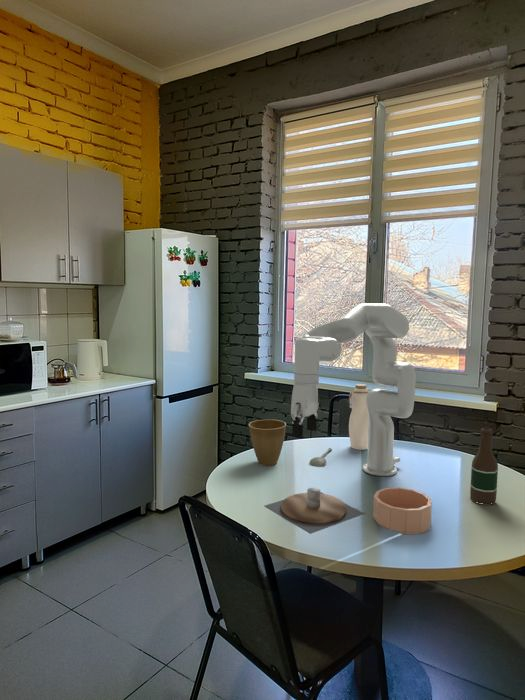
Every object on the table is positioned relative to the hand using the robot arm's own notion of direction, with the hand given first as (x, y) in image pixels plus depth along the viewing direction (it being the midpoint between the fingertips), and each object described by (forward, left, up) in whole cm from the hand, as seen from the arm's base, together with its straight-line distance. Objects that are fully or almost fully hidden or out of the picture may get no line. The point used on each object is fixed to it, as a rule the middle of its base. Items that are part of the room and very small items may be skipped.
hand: (304, 433), depth 149 cm
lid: (-1, +4, -23) cm, 24 cm away
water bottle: (-60, -33, -24) cm, 73 cm away
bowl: (-18, +24, -24) cm, 38 cm away
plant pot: (-15, -40, -24) cm, 49 cm away
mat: (-1, +4, -24) cm, 24 cm away
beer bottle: (-51, +30, -24) cm, 64 cm away
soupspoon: (-37, -31, -25) cm, 55 cm away
